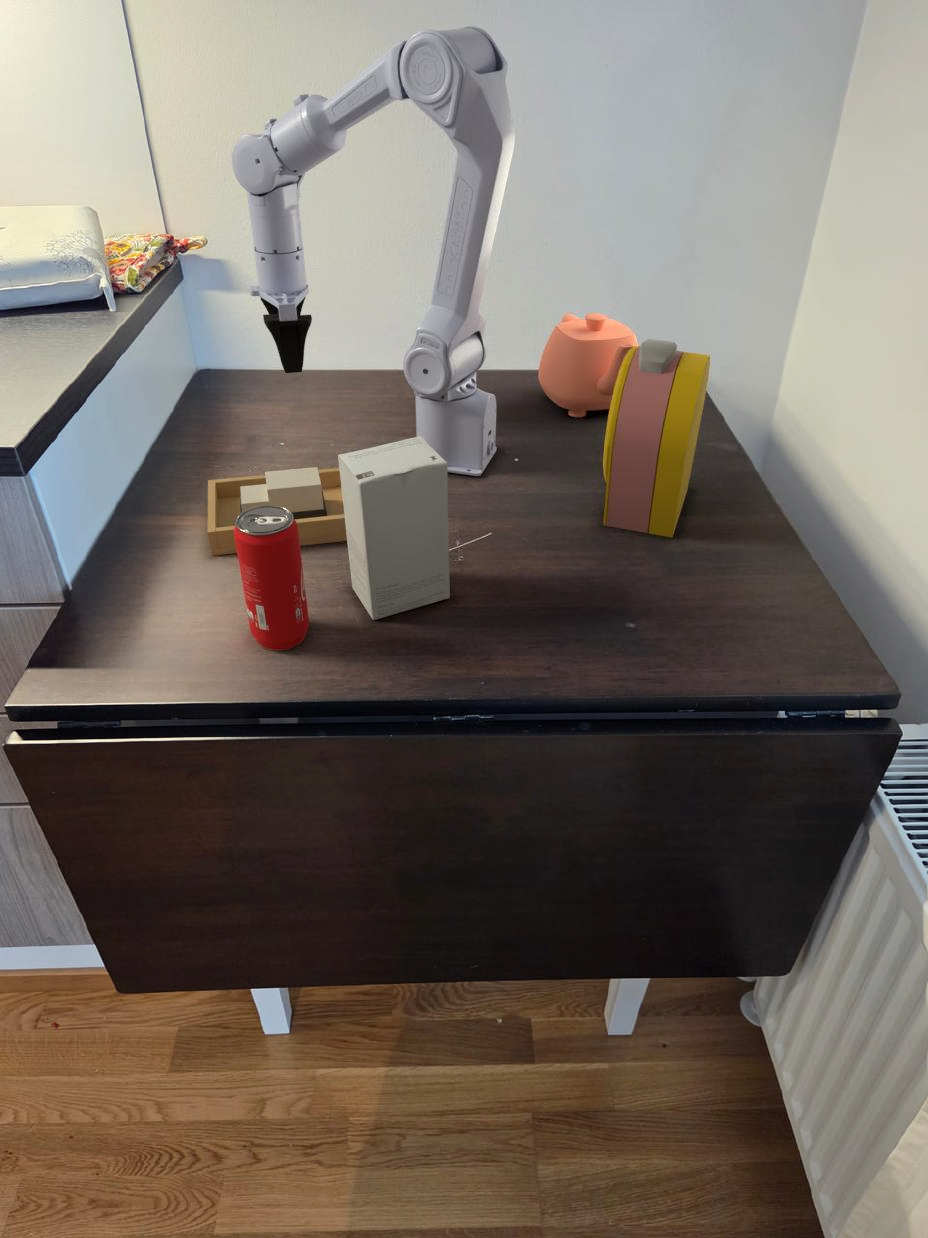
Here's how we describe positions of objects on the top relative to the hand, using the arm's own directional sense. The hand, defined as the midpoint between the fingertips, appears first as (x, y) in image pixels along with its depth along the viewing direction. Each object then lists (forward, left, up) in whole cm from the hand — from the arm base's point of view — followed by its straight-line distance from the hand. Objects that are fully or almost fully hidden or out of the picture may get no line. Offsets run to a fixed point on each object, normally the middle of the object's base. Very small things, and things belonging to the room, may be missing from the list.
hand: (291, 360), depth 111 cm
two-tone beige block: (-10, +24, -8) cm, 27 cm away
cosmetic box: (-27, +34, -9) cm, 44 cm away
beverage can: (-19, +43, -9) cm, 48 cm away
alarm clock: (-47, +9, -9) cm, 49 cm away
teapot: (-36, -18, -9) cm, 41 cm away
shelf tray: (-10, +24, -8) cm, 27 cm away
